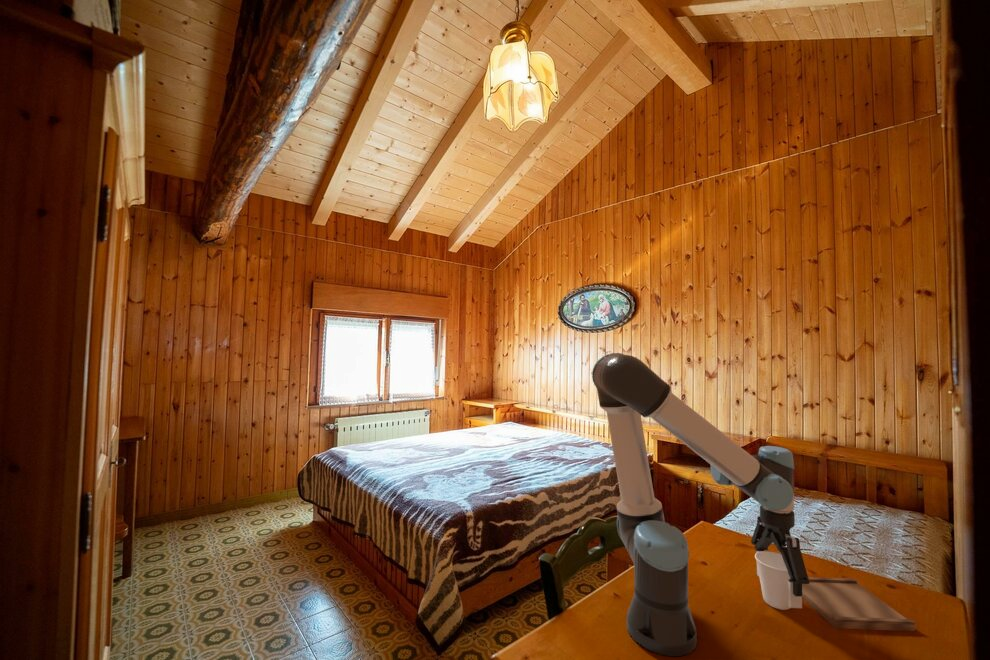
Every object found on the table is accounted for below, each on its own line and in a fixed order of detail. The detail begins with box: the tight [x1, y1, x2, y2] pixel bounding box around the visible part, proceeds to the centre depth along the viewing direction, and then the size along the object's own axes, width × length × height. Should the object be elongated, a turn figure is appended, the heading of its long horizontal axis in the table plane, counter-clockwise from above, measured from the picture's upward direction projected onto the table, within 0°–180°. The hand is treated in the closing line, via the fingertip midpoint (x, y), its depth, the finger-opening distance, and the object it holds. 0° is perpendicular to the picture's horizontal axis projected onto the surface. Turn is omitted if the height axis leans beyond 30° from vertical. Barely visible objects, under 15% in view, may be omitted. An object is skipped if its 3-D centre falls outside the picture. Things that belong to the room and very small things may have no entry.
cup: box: [754, 550, 795, 611], centre depth 110 cm, size 10×10×11 cm
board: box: [802, 576, 916, 632], centre depth 109 cm, size 18×18×2 cm
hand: (777, 590), depth 110 cm, fingers open, 13 cm apart
